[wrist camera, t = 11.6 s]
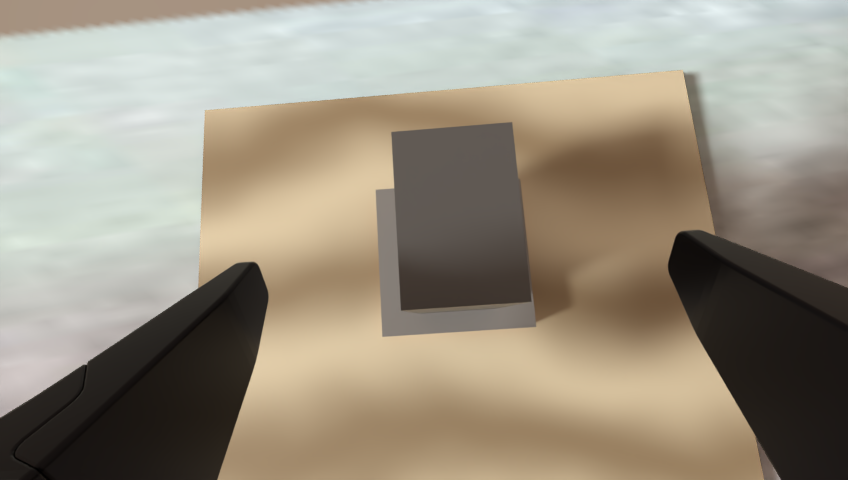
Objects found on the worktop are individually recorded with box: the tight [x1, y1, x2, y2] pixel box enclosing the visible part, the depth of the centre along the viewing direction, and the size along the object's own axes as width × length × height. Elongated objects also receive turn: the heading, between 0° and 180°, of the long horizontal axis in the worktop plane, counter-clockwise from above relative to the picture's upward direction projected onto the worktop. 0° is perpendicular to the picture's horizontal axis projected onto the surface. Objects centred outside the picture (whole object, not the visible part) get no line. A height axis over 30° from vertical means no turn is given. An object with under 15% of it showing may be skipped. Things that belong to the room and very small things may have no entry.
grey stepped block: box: [376, 122, 536, 337], centre depth 15 cm, size 6×6×9 cm
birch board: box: [198, 70, 764, 480], centre depth 20 cm, size 20×24×1 cm
